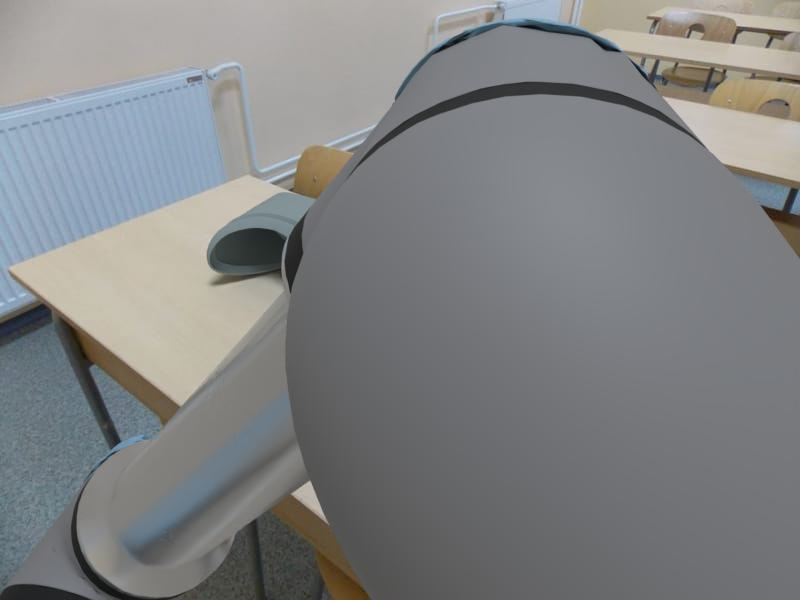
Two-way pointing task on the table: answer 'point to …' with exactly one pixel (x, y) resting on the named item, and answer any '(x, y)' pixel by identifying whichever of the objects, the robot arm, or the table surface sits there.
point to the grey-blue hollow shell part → (257, 236)
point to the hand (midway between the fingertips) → (555, 384)
